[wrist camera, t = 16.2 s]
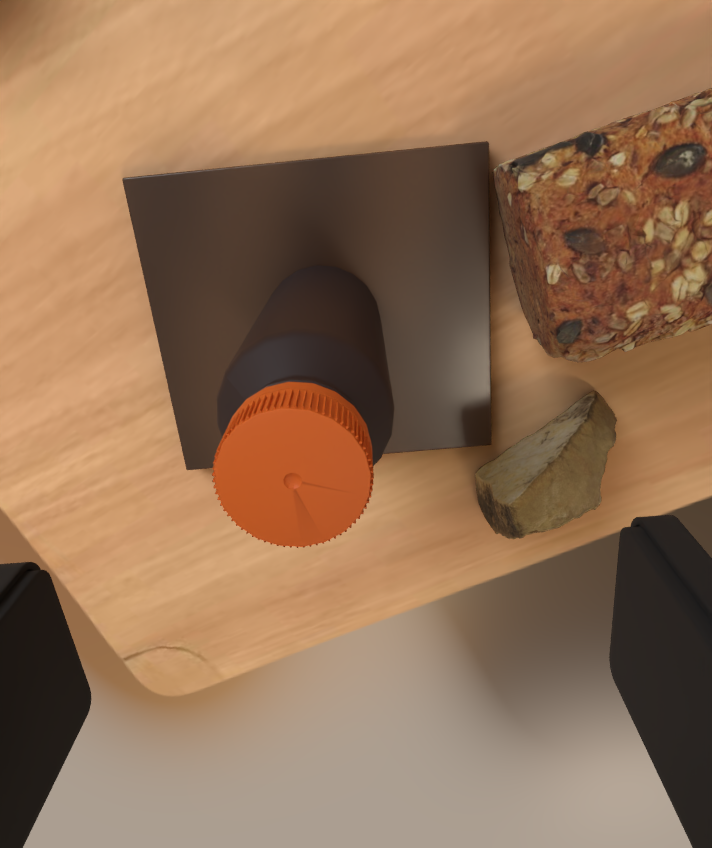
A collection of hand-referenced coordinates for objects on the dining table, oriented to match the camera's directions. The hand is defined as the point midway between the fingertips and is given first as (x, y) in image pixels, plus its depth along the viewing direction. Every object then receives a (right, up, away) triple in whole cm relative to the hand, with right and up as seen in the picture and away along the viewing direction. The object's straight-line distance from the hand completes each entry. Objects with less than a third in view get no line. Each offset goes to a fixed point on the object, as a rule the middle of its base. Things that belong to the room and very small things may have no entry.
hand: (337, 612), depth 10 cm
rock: (+13, +1, +32) cm, 35 cm away
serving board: (-2, +10, +29) cm, 30 cm away
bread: (+18, +16, +26) cm, 35 cm away
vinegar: (-2, +9, +27) cm, 29 cm away
